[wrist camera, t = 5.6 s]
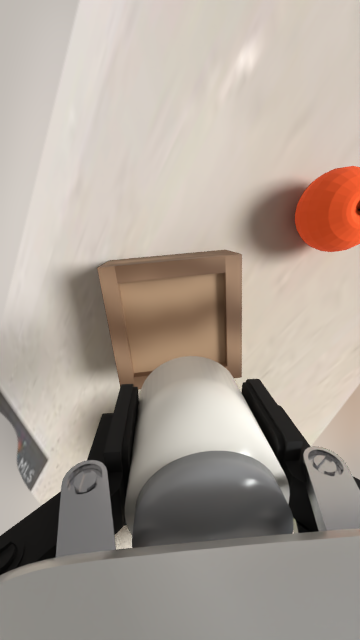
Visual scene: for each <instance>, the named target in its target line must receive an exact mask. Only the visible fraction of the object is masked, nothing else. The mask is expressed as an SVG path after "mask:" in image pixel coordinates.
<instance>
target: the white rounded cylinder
mask: <svg viewBox="0 0 360 640" xmlns="http://www.w3.org/2000/svg"><path fill="white" fill-rule="evenodd" d="M289 497H290V491H289V484H288V480H287V478H286V475H285V473H284V471H283V469H282V468H281V466H280V464H279V462H278V460H277V458H276V456H275V454H274V453H273V451H272V449H271V447H270V445H269V443H268V441H267V439H266V438H265V436H264V434H263V432H262V430H261V428H260V426H259V425H258V423H257V421H256V419H255V417H254V415H253V413H252V411H251V410H250V408H249V406H248V404H247V402H246V400H245V398H244V396H243V395H242V393H241V391H240V389H239V387H238V385H237V383H236V381H235V380H234V378H233V376H232V375H231V373H230V372H229V371H228V370H227V369H226V368H225V367H224V366H222V365H221V364H219V363H218V362H216V361H213V360H211V359H208V358H204V357H198V356H186V357H180V358H175V359H172V360H170V361H167V362H165V363H163V364H162V365H160V366H159V367H157V368H156V369H155V370H154V371H153V372H152V373H151V374H150V375H149V376H148V377H147V379H146V380H145V382H144V383H143V385H142V388H141V391H140V395H139V403H138V411H137V418H136V426H135V434H134V442H133V449H132V457H131V465H130V472H129V478H128V485H127V493H126V501H125V519H126V524H127V526H128V529H129V531H130V532H131V534H132V548H139V547H149V546H160V545H170V544H181V543H191V542H202V541H213V540H225V539H236V538H247V537H259V536H270V535H282V534H292V533H293V526H294V523H293V515H292V512H291V509H290V507H289V505H288V504H289Z"/></svg>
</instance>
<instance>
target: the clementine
mask: <svg viewBox="0 0 360 640" xmlns="http://www.w3.org/2000/svg"><path fill="white" fill-rule="evenodd" d="M295 225H296V229H297V231H298V233H299V235H300V237H301V238H302V240H303V241H304V242H305V243H307V244H308V245H309V246H311V247H313V248H315V249H318V250H320V251H327V252H334V251H342V250H347V249H349V248H351V247H354V246H356V245H358V244H360V167H355V166H350V167H343V168H337V169H334V170H331V171H329V172H327V173H325V174H323V175H322V176H320V177H318V178H317V179H316V180H315V181H313V182H312V183H311V184H310V185H309V186H308V188H307V189H306V190H305V191H304V193H303V194H302V196H301V198H300V200H299V202H298V204H297V208H296V212H295Z"/></svg>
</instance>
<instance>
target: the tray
mask: <svg viewBox="0 0 360 640" xmlns="http://www.w3.org/2000/svg"><path fill="white" fill-rule="evenodd" d="M97 269H98V274H99V280H100V285H101V290H102V295H103V300H104V305H105V310H106V316H107V321H108V326H109V331H110V336H111V341H112V346H113V352H114V357H115V362H116V367H117V372H118V377H119V382H120V387H121V384H133V385H134V387H138V389H141V388H142V385H143V383H144V382H145V380H146V379H147V377H148V376H149V375H150V374H151V373H152V372H153V371H154V370H155V369H156V368H157V367H159V366H160V365H162V364H163V363H165V362H167V361H170V360H172V359H175V358H180V357H186V356H198V357H204V358H208V359H211V360H213V361H216V362H218V363H219V364H221V365H222V366H224V367H225V368H226V369H227V370H228V371H229V372H230V373H231V375H232V376H233V378H240V377H242V254H239V253H235V252H232V251H228V250H218V251H207V252H196V253H185V254H175V255H164V256H153V257H142V258H131V259H121V260H110V261H108V262H106V263H105V264H103V265H101V266H99V267H98V268H97Z"/></svg>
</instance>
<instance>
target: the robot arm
mask: <svg viewBox="0 0 360 640" xmlns="http://www.w3.org/2000/svg"><path fill="white" fill-rule="evenodd" d="M242 395H243V396H244V398H245V400H246V402H247V404H248V406H249V408H250V410H251V411H252V413H253V415H254V417H255V419H256V421H257V423H258V425H259V426H260V428H261V430H262V432H263V434H264V436H265V438H266V439H267V441H268V443H269V445H270V447H271V449H272V451H273V453H274V454H275V456H276V458H277V460H278V462H279V464H280V466H281V468H282V469H283V471H284V473H285V475H286V478H287V480H288V484H289V491H290V497H289V504H288V505H289V507H290V509H291V512H292V515H293V523H294V526H293V532H294V534H282V535H270V536H259V537H247V538H236V539H225V540H213V541H202V542H191V543H181V544H170V545H160V546H149V547H139V548H128V549H118V550H116V545H115V536H114V535H115V534H116V533H117V532H118V531H119V530H120V529H121V528H122V527H123V525H127V524H126V519H125V501H126V493H127V485H128V478H129V472H130V465H131V457H132V449H133V442H134V434H135V426H136V418H137V411H138V403H139V398H138V387H134V385H133V384H121V387H120V391H119V395H118V399H117V403H116V407H115V410H114V413H107V414H102V417H101V420H100V423H99V426H98V429H97V432H96V435H95V438H94V441H93V444H92V447H91V450H90V453H89V456H88V459H87V461H83V462H81V463H78V464H77V465H75V466H74V467H72V468H71V469H70V470H69V471H68V472H67V473H66V475H65V477H64V478H63V481H62V486H61V492H59V493H58V494H57V495H55V496H54V497H53V498H51V499H50V500H49V501H47V502H46V503H45V504H43V505H42V506H40V507H39V508H38V509H37V510H35V511H34V512H32V513H31V514H30V515H28V516H27V517H25V518H24V519H23V520H21V521H20V522H19V523H17V524H16V525H15V526H13V527H12V528H11V529H9V530H8V531H6V532H5V533H4V534H2V535H1V536H0V640H360V480H359V479H357V478H355V477H353V476H352V474H351V472H350V470H349V468H348V466H347V465H346V463H345V462H344V460H343V459H342V458H341V457H339V456H338V455H337V454H335V453H334V452H332V451H330V450H328V449H326V448H322V447H315V446H313V447H310V445H309V444H308V442H307V441H306V440H305V438H304V437H303V436H302V434H301V433H300V431H299V430H298V429H297V427H296V426H295V425H294V423H293V422H292V420H291V419H290V418H289V416H288V415H287V414H286V412H285V411H284V409H283V408H282V407H281V406H279V405H277V403H276V402H275V401H274V399H273V398H272V396H271V395H270V394H269V392H268V391H267V389H266V388H265V387H264V385H263V384H262V382H261V381H260V380H259V379H247V380H246V382H244V383H243V385H242Z"/></svg>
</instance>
